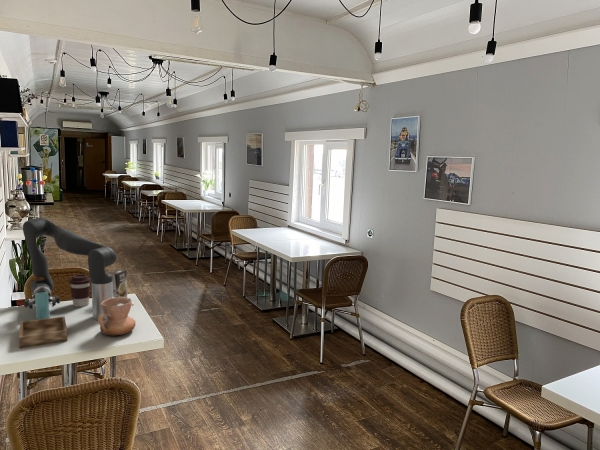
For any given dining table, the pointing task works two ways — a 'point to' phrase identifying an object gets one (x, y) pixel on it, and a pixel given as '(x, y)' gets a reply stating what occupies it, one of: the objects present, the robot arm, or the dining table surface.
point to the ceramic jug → (116, 316)
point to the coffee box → (119, 283)
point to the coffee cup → (80, 289)
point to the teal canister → (42, 305)
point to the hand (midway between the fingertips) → (42, 305)
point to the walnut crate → (42, 332)
